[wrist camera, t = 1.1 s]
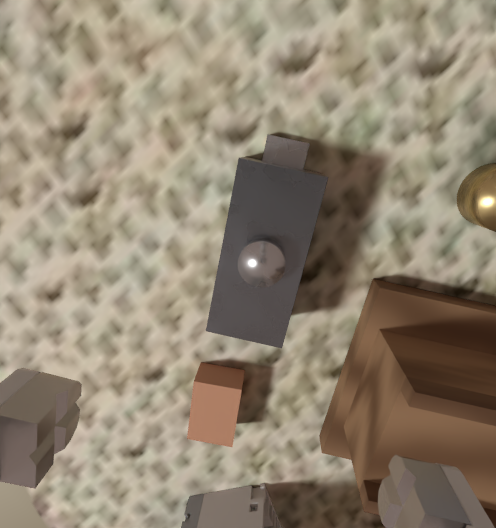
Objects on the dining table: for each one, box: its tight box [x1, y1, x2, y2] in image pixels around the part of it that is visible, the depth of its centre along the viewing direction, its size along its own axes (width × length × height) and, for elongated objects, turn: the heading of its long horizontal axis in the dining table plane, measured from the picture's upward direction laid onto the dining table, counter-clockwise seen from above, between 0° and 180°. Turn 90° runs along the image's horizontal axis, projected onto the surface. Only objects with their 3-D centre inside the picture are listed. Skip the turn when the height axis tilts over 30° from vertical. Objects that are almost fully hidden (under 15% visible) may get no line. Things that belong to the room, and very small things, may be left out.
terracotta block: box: [187, 362, 245, 447], centre depth 31 cm, size 6×4×3 cm, turn 172°
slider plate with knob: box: [206, 135, 328, 348], centre depth 25 cm, size 16×6×6 cm, turn 168°
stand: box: [319, 279, 496, 528], centre depth 26 cm, size 16×20×10 cm
